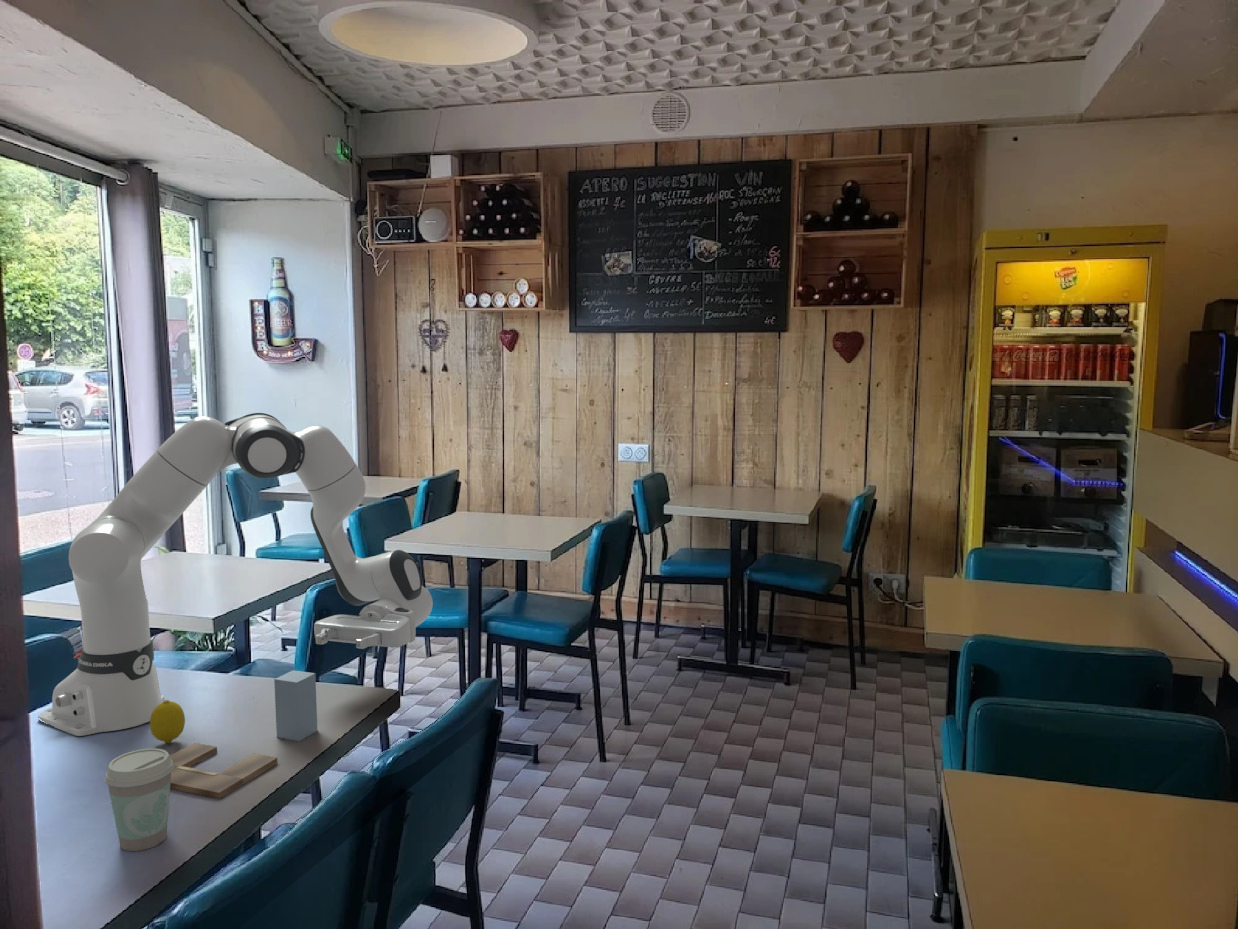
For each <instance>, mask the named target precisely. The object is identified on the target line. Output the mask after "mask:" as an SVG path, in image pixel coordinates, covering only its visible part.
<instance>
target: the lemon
mask: <svg viewBox="0 0 1238 929" xmlns="http://www.w3.org/2000/svg"><path fill="white" fill-rule="evenodd" d="M185 717H186V716H185V713H184V710H183V708H182V706H181V705H179V703H177V702H176V701H175V702H174V701H170V700H169V699H166V700H165V701H164V702H163V703H161V704H159V705H158V706H157V707H156V708H155V709H154V710H153V712H152V714H151V719H150V721H149V727H150V732H151V734H152V736H153V737H154V738H155V739H156V740H158V741H160V742H164V743H165V744H172V742H173V741H174V740H176V739H177V738H178V737H179V736H181V734H182V733H183V730H184V729H185V724H186V718H185Z"/></svg>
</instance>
